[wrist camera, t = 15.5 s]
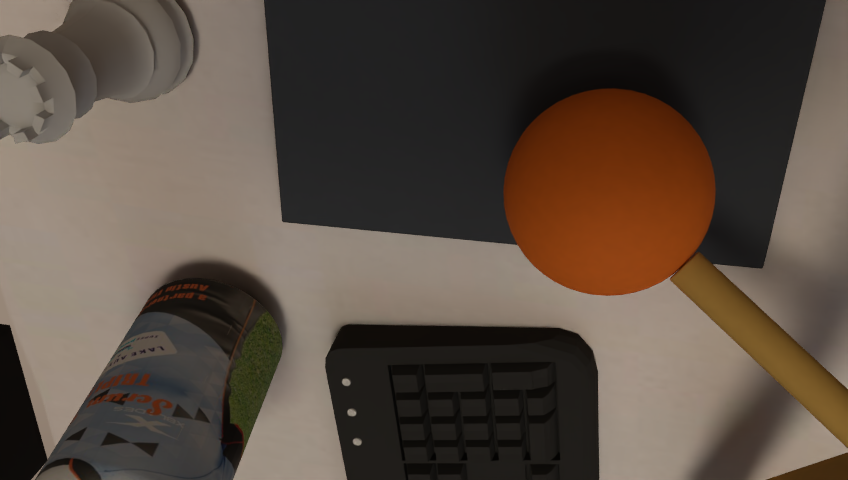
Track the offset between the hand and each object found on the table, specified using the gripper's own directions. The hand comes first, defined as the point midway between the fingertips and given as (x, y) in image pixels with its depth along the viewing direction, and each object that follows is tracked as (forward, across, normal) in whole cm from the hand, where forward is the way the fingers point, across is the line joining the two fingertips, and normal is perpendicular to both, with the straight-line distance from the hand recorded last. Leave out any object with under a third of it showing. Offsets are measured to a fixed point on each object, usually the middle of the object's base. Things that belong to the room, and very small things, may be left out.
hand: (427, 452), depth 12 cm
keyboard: (+19, 0, -25) cm, 31 cm away
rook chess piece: (+19, -14, +1) cm, 24 cm away
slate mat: (+18, 0, 0) cm, 19 cm away
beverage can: (+19, -12, -12) cm, 25 cm away
